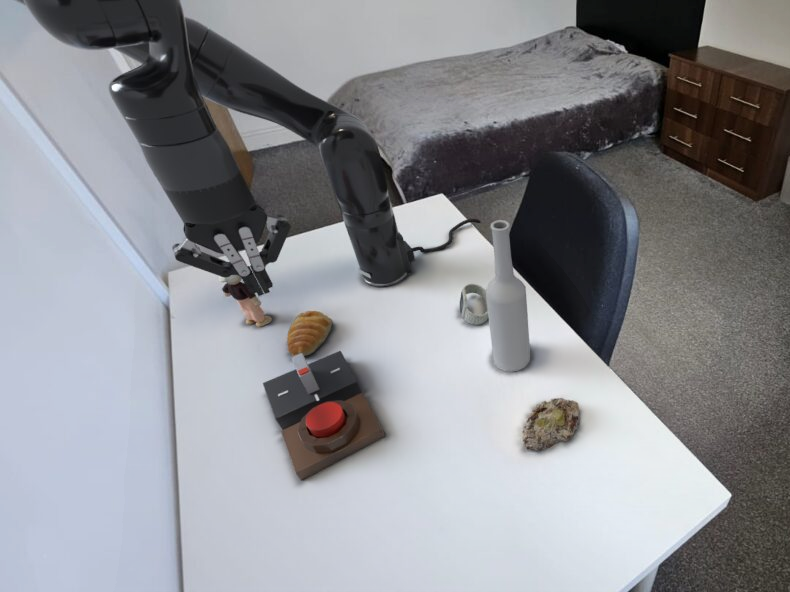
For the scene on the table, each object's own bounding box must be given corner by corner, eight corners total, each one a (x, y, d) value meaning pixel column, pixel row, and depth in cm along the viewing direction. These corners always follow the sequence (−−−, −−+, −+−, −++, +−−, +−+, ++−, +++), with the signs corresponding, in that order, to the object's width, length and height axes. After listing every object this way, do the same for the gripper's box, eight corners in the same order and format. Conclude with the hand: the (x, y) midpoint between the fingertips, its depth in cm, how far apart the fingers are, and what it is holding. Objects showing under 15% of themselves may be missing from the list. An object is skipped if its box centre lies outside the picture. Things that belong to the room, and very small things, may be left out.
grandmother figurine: (281, 315, 91) (254, 262, 83) (269, 329, 88) (240, 275, 80) (243, 311, 91) (212, 258, 83) (230, 325, 88) (196, 271, 80)
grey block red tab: (300, 374, 76) (290, 355, 73) (311, 370, 77) (301, 351, 74) (308, 394, 73) (298, 376, 71) (319, 389, 74) (310, 371, 71)
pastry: (321, 358, 83) (314, 343, 81) (280, 361, 82) (272, 346, 80) (335, 322, 90) (329, 307, 88) (298, 324, 89) (290, 309, 87)
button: (340, 404, 72) (336, 396, 70) (350, 426, 69) (346, 418, 68) (306, 420, 69) (301, 412, 68) (315, 443, 66) (311, 435, 65)
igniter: (365, 399, 77) (359, 384, 74) (385, 436, 72) (378, 420, 69) (285, 438, 71) (275, 423, 68) (300, 480, 66) (290, 465, 63)
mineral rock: (552, 382, 78) (587, 401, 73) (558, 401, 80) (592, 420, 75) (503, 424, 72) (538, 447, 67) (511, 443, 74) (545, 467, 69)
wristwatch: (458, 298, 97) (455, 279, 93) (489, 294, 98) (487, 275, 95) (462, 328, 90) (459, 309, 87) (495, 323, 92) (493, 304, 88)
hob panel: (345, 360, 83) (339, 348, 81) (362, 394, 78) (357, 382, 75) (269, 393, 77) (261, 380, 75) (283, 432, 72) (275, 419, 70)
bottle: (518, 339, 88) (509, 208, 70) (537, 361, 84) (531, 228, 66) (487, 354, 85) (468, 220, 67) (504, 377, 81) (489, 242, 63)
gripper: (128, 203, 47) (212, 327, 59) (273, 169, 54) (323, 286, 65) (122, 176, 51) (201, 296, 63) (256, 147, 58) (306, 261, 69)
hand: (263, 291), depth 64 cm, fingers closed
